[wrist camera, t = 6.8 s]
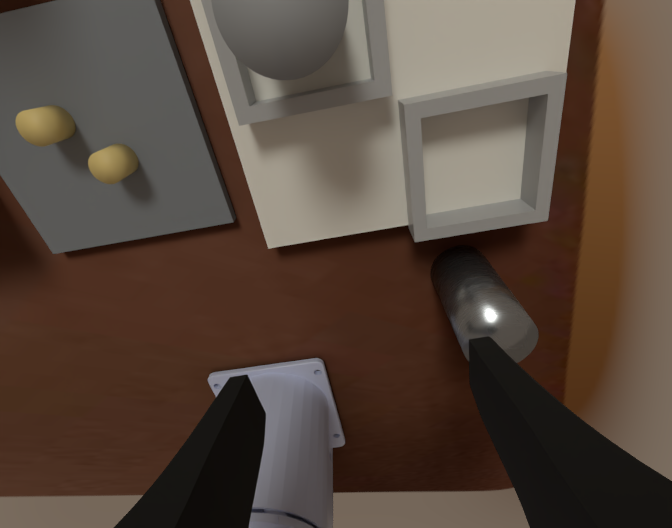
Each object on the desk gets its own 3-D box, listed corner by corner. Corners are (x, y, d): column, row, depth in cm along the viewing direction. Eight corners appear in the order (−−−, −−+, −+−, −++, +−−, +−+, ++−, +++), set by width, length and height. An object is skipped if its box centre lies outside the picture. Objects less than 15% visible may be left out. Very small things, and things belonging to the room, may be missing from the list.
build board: (536, 196, 19) (639, 270, 12) (272, 241, 20) (246, 329, 14) (574, -147, 12) (821, -343, 6) (183, -51, 13) (57, -136, 7)
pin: (485, 288, 22) (534, 363, 16) (431, 296, 22) (463, 373, 17) (487, 241, 20) (542, 308, 15) (429, 250, 20) (463, 320, 15)
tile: (236, 217, 19) (226, 235, 17) (60, 248, 20) (33, 268, 18) (153, -19, 14) (126, -29, 12) (-79, 36, 15) (-136, 34, 13)
